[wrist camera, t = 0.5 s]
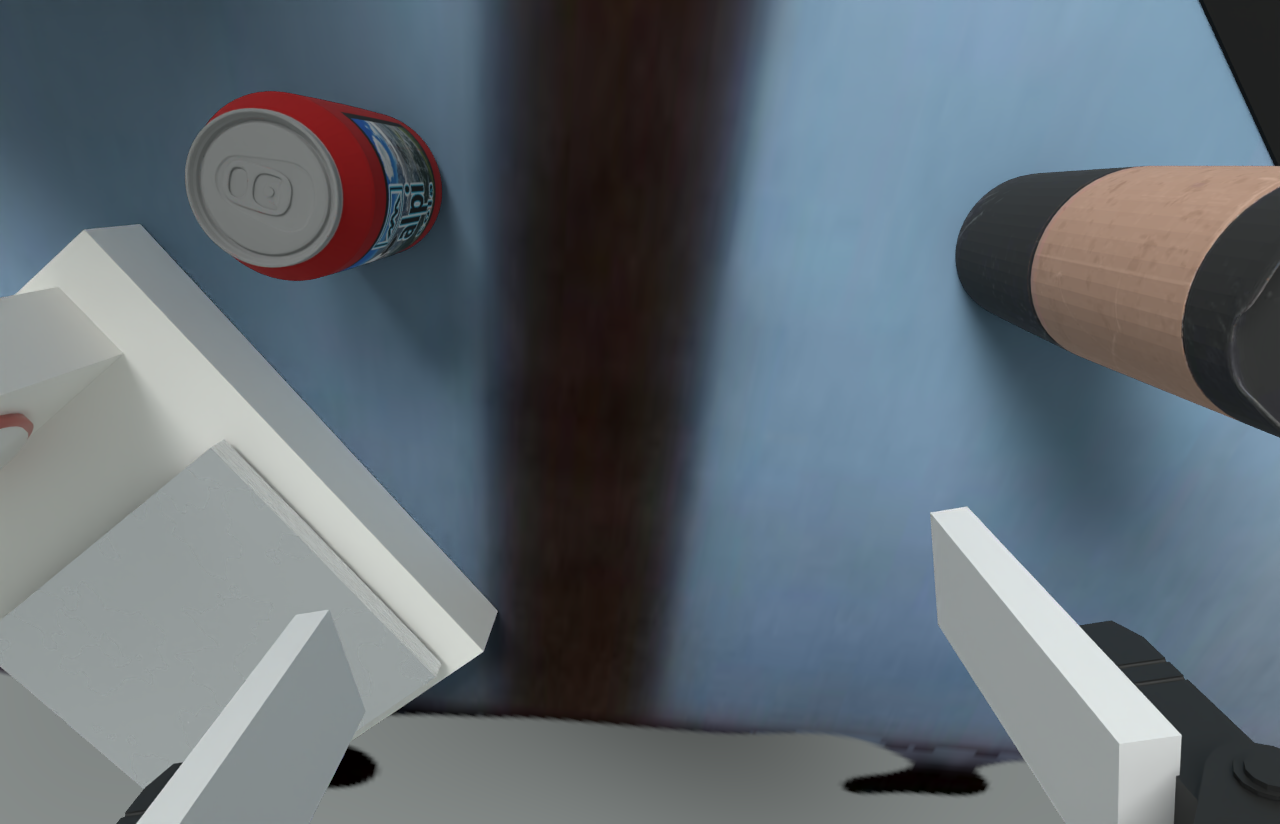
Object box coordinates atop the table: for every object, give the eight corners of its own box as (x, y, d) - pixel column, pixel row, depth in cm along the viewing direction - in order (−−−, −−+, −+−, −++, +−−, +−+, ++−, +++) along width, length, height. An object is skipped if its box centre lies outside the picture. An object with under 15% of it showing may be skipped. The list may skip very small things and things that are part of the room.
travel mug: (1135, 219, 38) (1630, 265, 19) (1036, 348, 40) (1392, 510, 21) (1013, 137, 37) (1405, 97, 18) (918, 274, 39) (1178, 373, 20)
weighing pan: (-9, 629, 41) (-28, 642, 39) (224, 438, 37) (210, 447, 36) (211, 820, 44) (200, 837, 43) (441, 663, 41) (435, 677, 40)
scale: (-122, 466, 43) (-590, 644, 27) (140, 224, 38) (-229, 260, 22) (239, 788, 49) (39, 1088, 33) (497, 610, 45) (412, 855, 29)
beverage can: (431, 270, 39) (340, 311, 28) (301, 231, 39) (153, 256, 27) (460, 137, 37) (375, 120, 26) (324, 94, 37) (175, 57, 25)
